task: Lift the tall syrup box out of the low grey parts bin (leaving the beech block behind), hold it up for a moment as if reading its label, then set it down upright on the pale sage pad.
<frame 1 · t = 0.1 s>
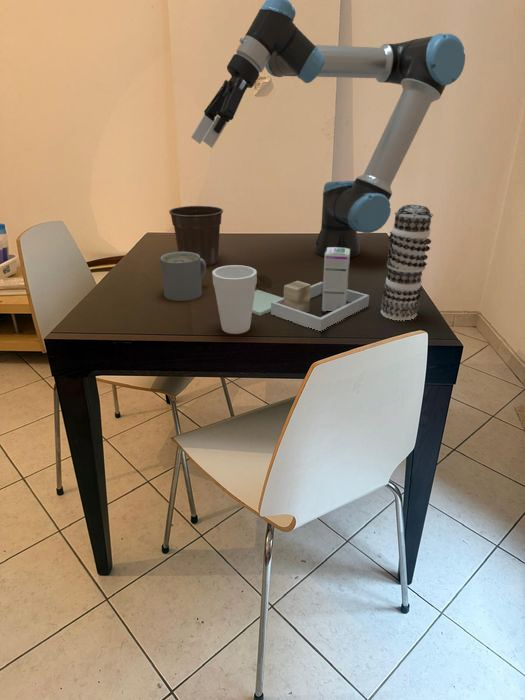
hand: (201, 142, 116), 36 cm above the table, tool tilted 35°, fingers open, 13 cm apart
decorative candle: (398, 314, 111), on the table
foam cup: (235, 328, 104), on the table
syrup box: (333, 308, 115), resting in parts bin
parts bin: (320, 310, 113), on the table
plant pot: (199, 262, 148), on the table
beech block: (296, 312, 112), resting in parts bin
sage pad: (258, 303, 117), on the table
coffee mug: (188, 293, 124), on the table
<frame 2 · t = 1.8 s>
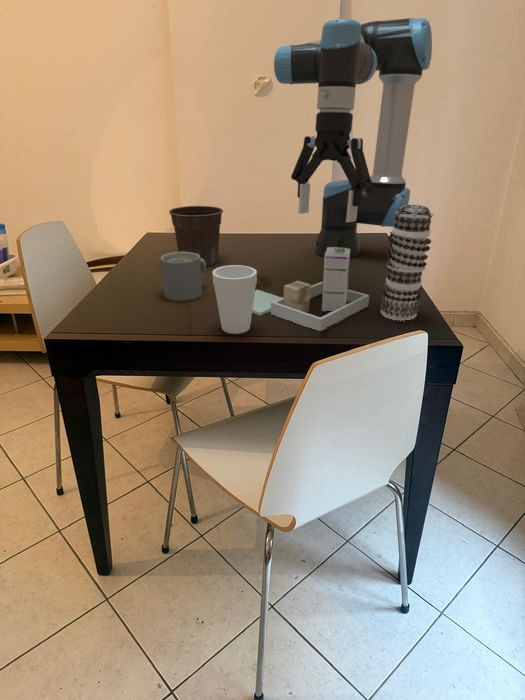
hand: (326, 217, 105), 22 cm above the table, tool pointing down, fingers open, 13 cm apart
nothing on the table moved.
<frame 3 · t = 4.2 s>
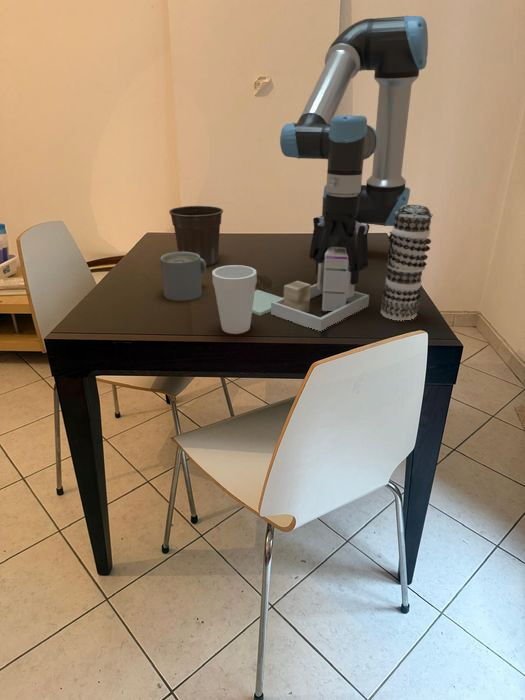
hand: (335, 291, 113), 4 cm above the table, tool pointing down, fingers closed on syrup box, 7 cm apart
syrup box: (333, 308, 115), resting in parts bin, touching gripper
everything else where it was.
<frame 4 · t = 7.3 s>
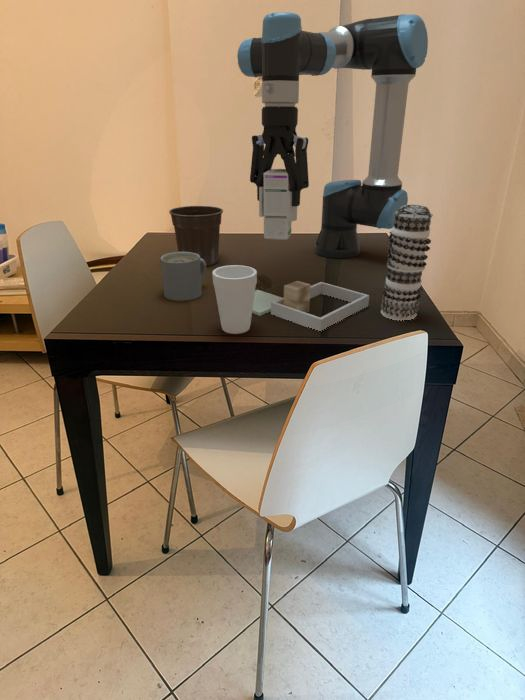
hand: (277, 218, 106), 21 cm above the table, tool pointing down, fingers closed on syrup box, 7 cm apart
syrup box: (277, 237, 108), point 17 cm above the table, touching gripper
everything else where it was.
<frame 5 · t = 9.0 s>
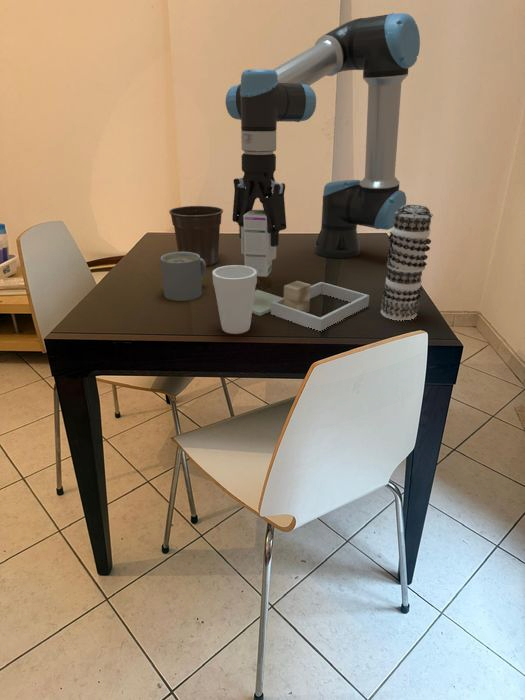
hand: (258, 255, 111), 12 cm above the table, tool pointing down, fingers closed on syrup box, 7 cm apart
syrup box: (258, 273, 113), point 8 cm above the table, touching gripper
everything else where it was.
when the fingers open (6 cm above the table, at t = 10.3 s): syrup box drops 1 cm, resting on sage pad.
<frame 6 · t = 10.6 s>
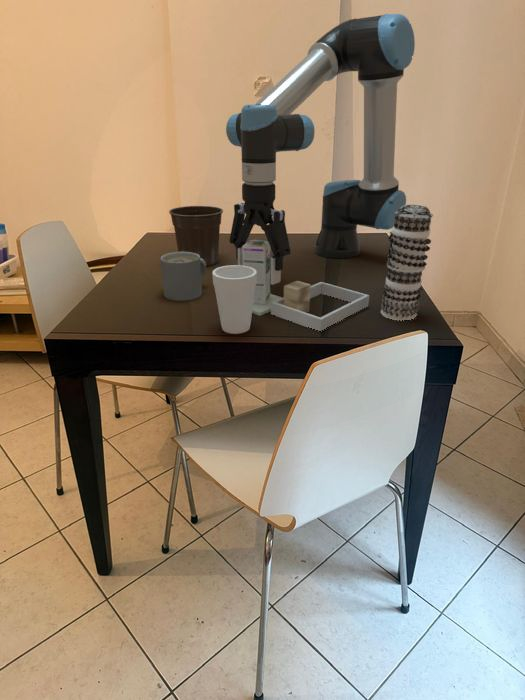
hand: (258, 277, 114), 7 cm above the table, tool pointing down, fingers open, 10 cm apart
syrup box: (256, 300, 117), point 1 cm above the table, touching sage pad
everything else where it was.
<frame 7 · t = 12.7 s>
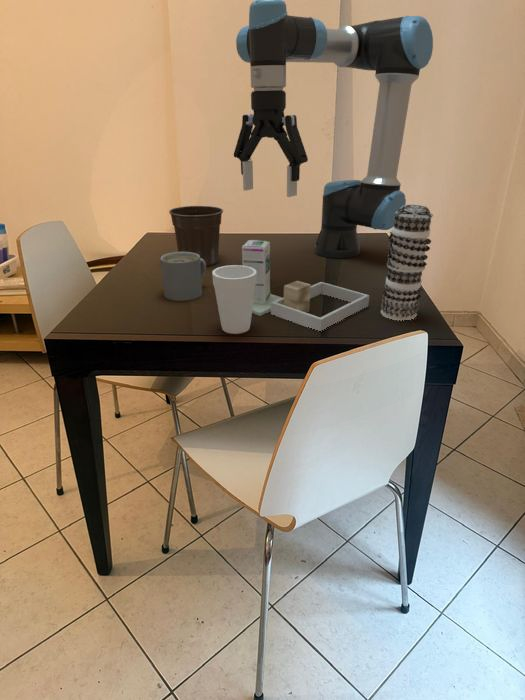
hand: (269, 192, 110), 26 cm above the table, tool pointing down, fingers open, 13 cm apart
nothing on the table moved.
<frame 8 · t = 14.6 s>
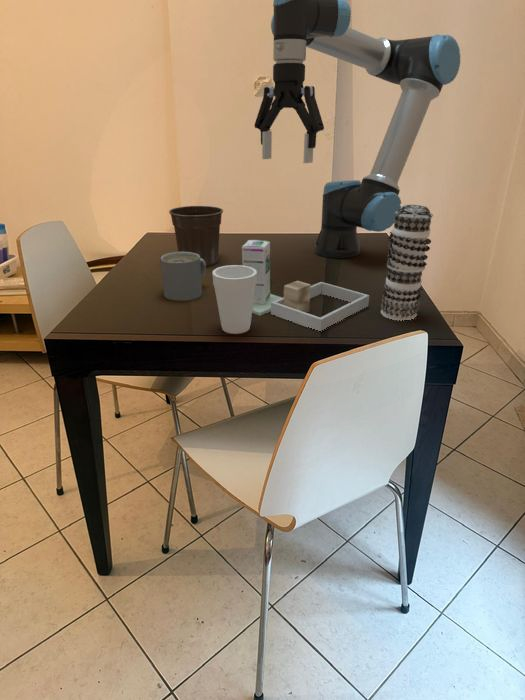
hand: (286, 160, 118), 32 cm above the table, tool pointing down, fingers open, 13 cm apart
nothing on the table moved.
at the end: syrup box inside the target area on the sage pad (0.7 cm from its centre), point 0.6 cm above the sage pad's base; syrup box tilted 0°; the gripper is holding nothing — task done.
